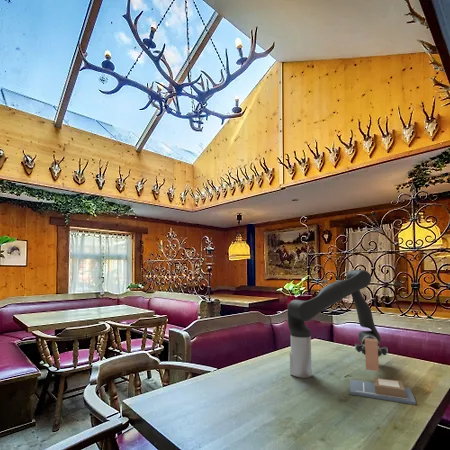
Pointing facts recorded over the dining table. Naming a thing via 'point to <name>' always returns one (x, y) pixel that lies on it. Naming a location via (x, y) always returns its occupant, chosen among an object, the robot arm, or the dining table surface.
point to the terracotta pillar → (371, 354)
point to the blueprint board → (371, 390)
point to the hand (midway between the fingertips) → (371, 353)
